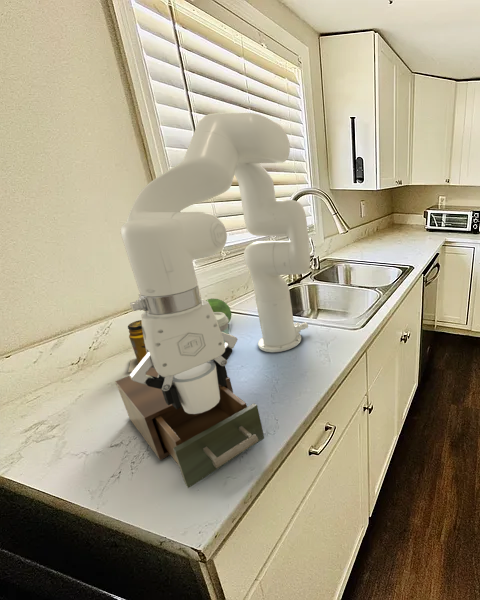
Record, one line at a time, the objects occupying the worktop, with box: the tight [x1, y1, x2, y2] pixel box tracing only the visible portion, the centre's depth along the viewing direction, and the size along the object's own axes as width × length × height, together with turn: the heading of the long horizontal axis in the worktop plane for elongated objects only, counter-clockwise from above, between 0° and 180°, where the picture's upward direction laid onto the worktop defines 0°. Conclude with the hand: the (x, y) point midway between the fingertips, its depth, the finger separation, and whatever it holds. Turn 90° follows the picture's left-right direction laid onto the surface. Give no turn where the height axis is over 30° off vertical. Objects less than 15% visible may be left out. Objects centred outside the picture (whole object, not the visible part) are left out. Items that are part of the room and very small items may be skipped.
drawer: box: [152, 386, 265, 489], centre depth 60 cm, size 22×14×8 cm, turn 52°
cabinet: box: [114, 367, 234, 461], centre depth 68 cm, size 18×15×10 cm
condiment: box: [127, 319, 152, 373], centre depth 89 cm, size 7×8×12 cm
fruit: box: [205, 298, 233, 323], centre depth 112 cm, size 15×10×10 cm, turn 32°
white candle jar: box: [172, 360, 220, 414], centre depth 57 cm, size 7×7×7 cm
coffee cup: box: [214, 312, 230, 344], centre depth 93 cm, size 8×8×12 cm
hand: (199, 393), depth 57 cm, fingers closed on white candle jar, 6 cm apart
